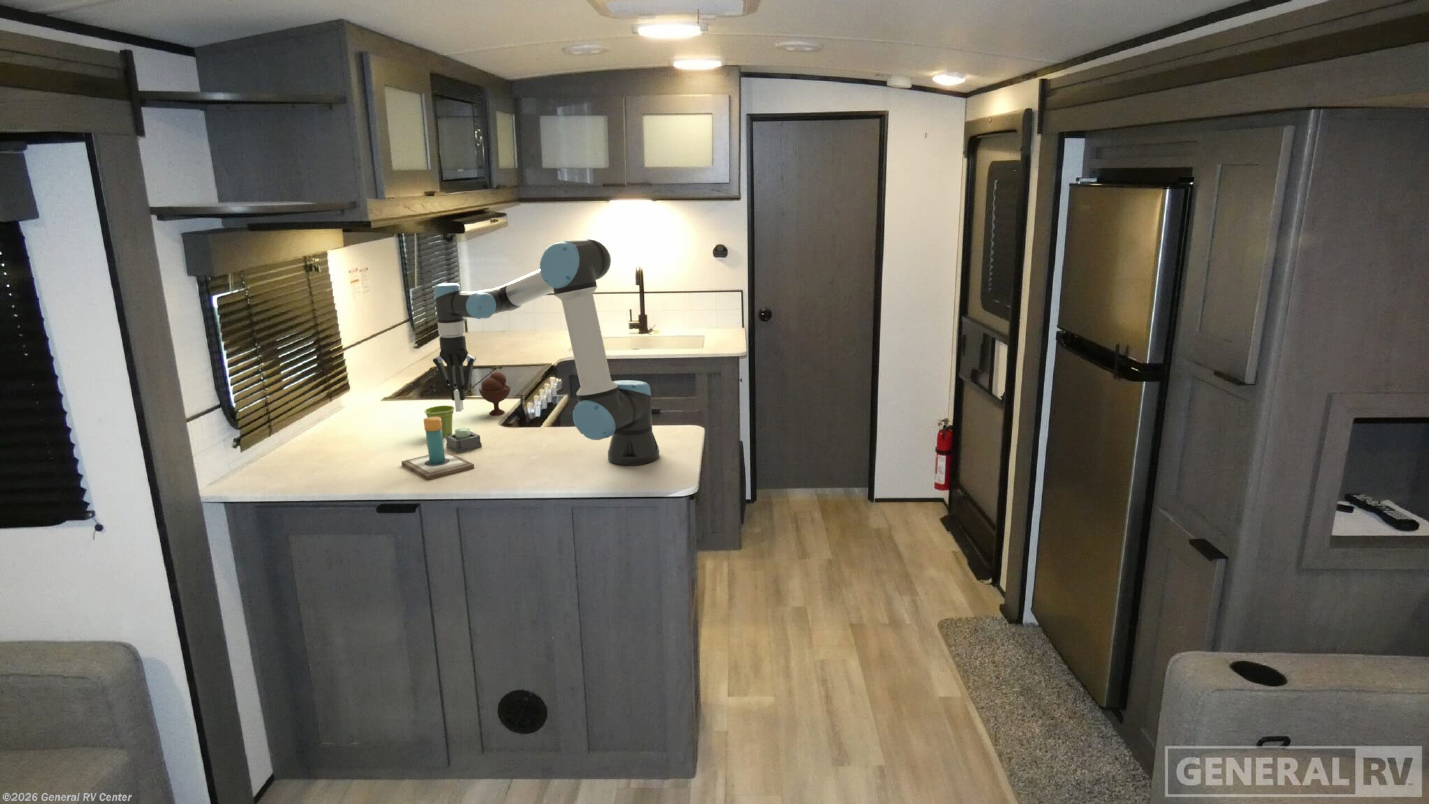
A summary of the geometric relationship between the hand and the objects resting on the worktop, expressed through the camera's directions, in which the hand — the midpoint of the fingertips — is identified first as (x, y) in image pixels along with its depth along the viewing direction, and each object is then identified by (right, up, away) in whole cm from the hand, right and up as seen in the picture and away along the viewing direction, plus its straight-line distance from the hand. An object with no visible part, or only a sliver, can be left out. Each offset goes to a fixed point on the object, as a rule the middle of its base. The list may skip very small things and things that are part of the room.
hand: (459, 410), depth 263 cm
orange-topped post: (-2, -15, -15) cm, 21 cm away
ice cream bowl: (+1, -2, +40) cm, 40 cm away
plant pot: (-11, -8, +17) cm, 22 cm away
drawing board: (-2, -16, -15) cm, 22 cm away
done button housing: (0, -11, +3) cm, 12 cm away
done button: (0, -9, +2) cm, 9 cm away
